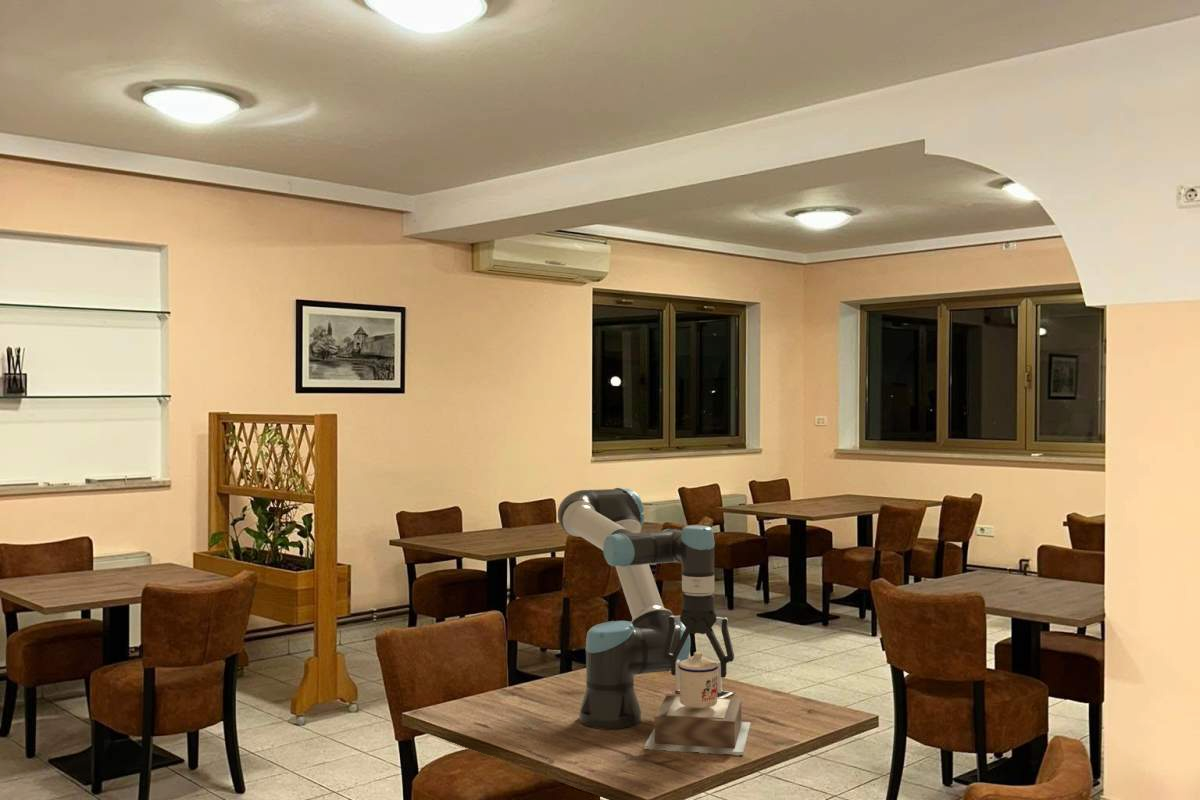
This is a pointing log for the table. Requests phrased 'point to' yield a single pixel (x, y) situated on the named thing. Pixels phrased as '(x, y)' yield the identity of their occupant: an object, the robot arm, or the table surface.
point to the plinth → (699, 728)
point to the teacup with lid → (698, 681)
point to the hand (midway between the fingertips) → (698, 690)
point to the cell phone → (721, 694)
